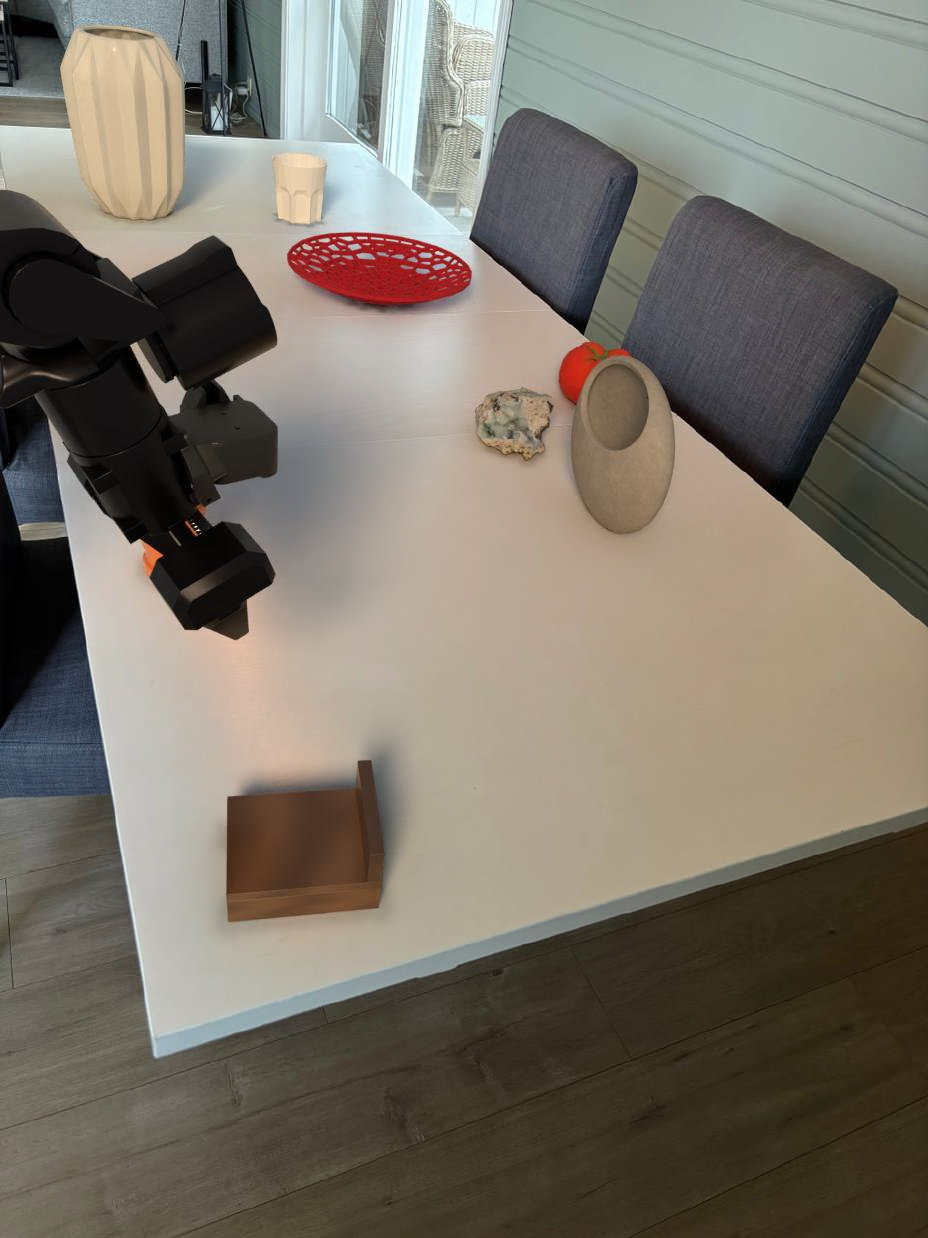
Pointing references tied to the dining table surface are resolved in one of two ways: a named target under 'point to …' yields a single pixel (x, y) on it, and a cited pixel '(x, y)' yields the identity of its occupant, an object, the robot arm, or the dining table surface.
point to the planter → (623, 444)
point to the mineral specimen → (514, 421)
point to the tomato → (582, 366)
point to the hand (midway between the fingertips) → (212, 597)
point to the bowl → (379, 269)
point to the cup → (299, 186)
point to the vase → (126, 118)
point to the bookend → (304, 851)
